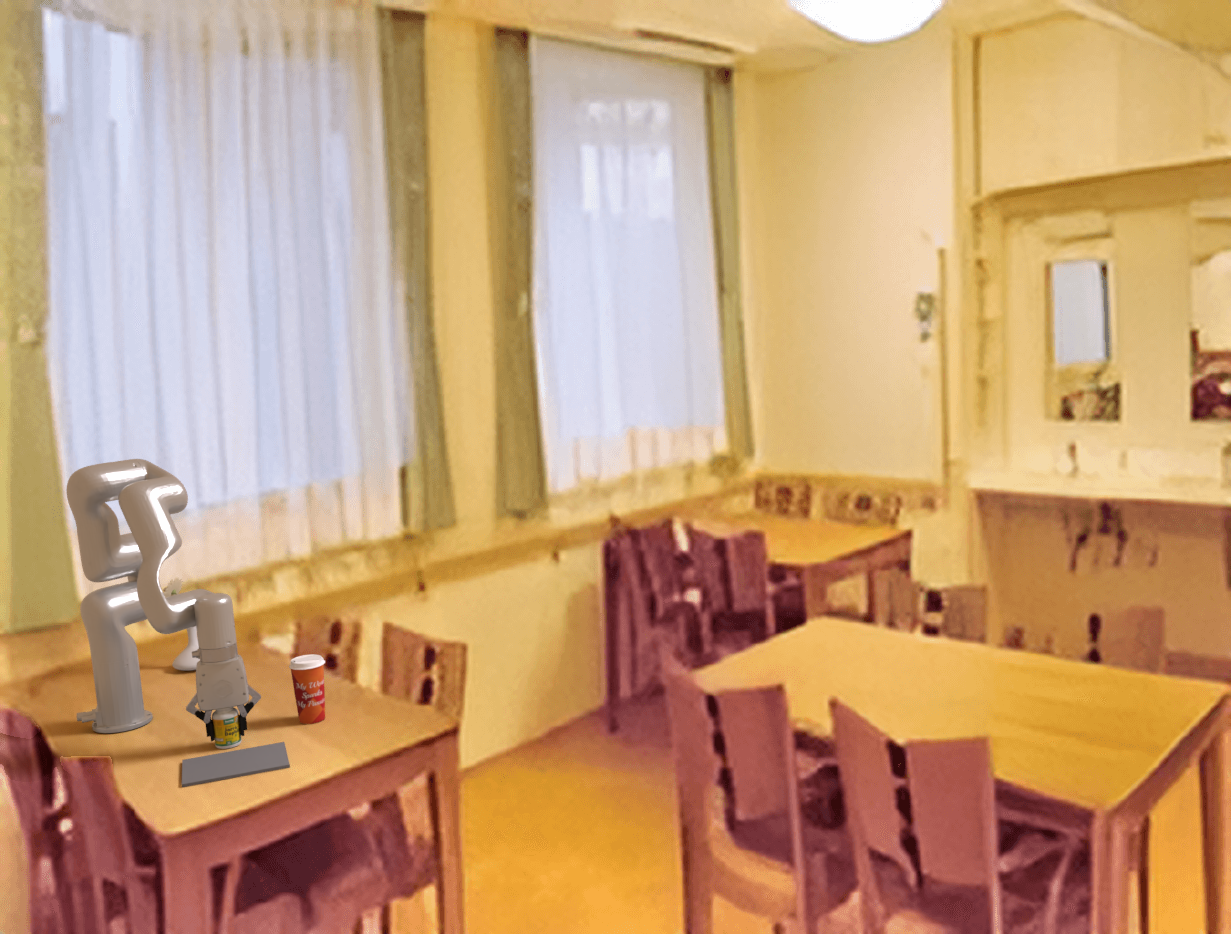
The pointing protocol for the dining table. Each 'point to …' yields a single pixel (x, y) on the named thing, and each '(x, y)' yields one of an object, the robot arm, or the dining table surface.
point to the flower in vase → (185, 657)
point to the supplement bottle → (226, 728)
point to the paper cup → (309, 687)
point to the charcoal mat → (234, 764)
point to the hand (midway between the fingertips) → (227, 735)
